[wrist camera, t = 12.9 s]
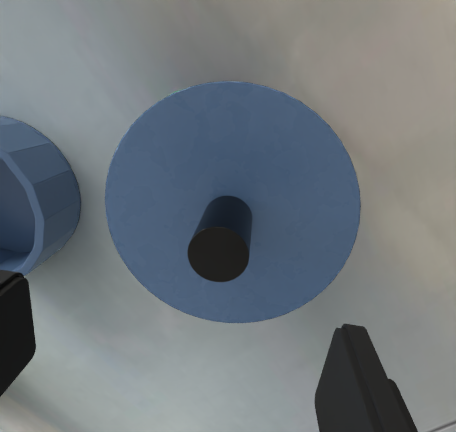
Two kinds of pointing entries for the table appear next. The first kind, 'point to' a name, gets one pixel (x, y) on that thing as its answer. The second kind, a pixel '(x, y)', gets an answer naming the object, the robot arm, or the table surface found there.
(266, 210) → the lid
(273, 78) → the table surface
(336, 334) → the robot arm
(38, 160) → the pan
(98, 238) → the table surface
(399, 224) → the table surface
